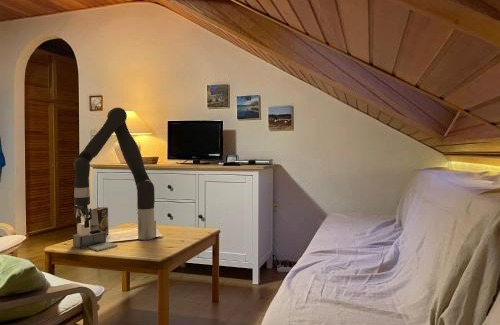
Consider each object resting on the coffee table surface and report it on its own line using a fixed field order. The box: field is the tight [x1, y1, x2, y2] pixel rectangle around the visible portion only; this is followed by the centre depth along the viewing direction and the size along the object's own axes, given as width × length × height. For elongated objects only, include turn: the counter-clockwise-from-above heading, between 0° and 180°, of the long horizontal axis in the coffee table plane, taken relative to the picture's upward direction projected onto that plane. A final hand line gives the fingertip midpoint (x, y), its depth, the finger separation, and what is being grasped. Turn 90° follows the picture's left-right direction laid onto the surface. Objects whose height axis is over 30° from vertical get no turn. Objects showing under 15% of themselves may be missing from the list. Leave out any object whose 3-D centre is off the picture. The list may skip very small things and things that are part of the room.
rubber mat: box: [88, 241, 118, 252], centre depth 199 cm, size 11×9×1 cm
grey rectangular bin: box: [72, 230, 107, 250], centre depth 203 cm, size 14×8×6 cm, turn 140°
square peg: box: [76, 221, 90, 237], centre depth 201 cm, size 4×4×12 cm
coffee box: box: [89, 206, 109, 236], centre depth 220 cm, size 9×6×16 cm
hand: (82, 226), depth 200 cm, fingers open, 8 cm apart
